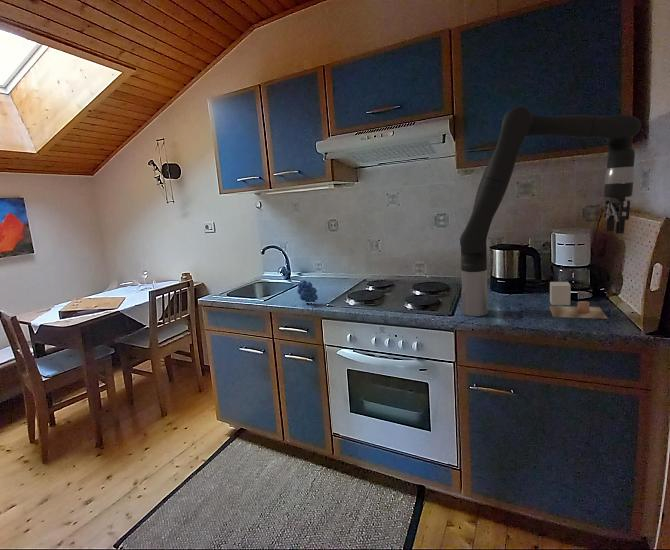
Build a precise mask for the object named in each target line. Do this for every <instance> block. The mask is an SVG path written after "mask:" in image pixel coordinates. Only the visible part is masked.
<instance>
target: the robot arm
mask: <svg viewBox="0 0 670 550" xmlns="http://www.w3.org/2000/svg"><path fill="white" fill-rule="evenodd" d="M641 129H642V122H641V120H640V119H639V118H638V117H636V116H634V115H630V114H629V115H628V114H627V115H626V114H619V115H617V114H616V115H605V116H604V115H602V116H601V115H591V114H590V115H589V114H568V115H567V114H566V115H538V114H532V112H531V110H530V109H529V108H528V107H525V106H522V105H521V106H516V107H513V108H511V109H510V110H508V111H507V112H506V113H505V114H504V117H503V118H502V121H501V129H500V133H499V137H498V140H497V143H496V146H495V149H494V151H493V153H492V155H491V157H490V159H489V161H488V163H487V165H486V167H485V168H484V172H483V174H482V177H481V179H480V182H479V185H478V187H477V191H476V194H475V199H474V204H473V208H472V212H471V215H470V218H469V220H468V222H467V224H466V227H465V228H464V230H463V231H462V233H461V235H460V238H459V244H460V252H461V253H460V257H461V258H460V270H461V271H460V272H461V273H460V274H461V275H460V276H461V293H460V296H461V314H462V315H463V316H469V317H483V316H486V315H488V314H489V311H488V310H489V307H488V300H489V299H488V297H489V296H488V256H487V241H488V235H489V231H490V228H491V225H492V221H493V218H494V216H495V215H496V212H497V211H498V209H499V207H500V205H501V203H502V201H503V198H504V196H505V194H506V192H507V189H508V186H509V184H510V181H511V177H512V176H513V171H514V168H515V165H516V160H517V157H518V153H519V151H520V148H521V146H522V145H523V142H524V140H525V138H526V137H531V136H548V137H549V136H550V137H551V136H552V137H561V138H562V137H563V138H571V139H573V138H574V139H587V140H589V139H590V140H592V139H594V140H595V139H598V138H602V139H603V138H605V139H606V147H607V153H608V155H607V164H606V172H605V177H604V186H603V187H604V188H603V189H604V191H603V198H607V199H608V198H609V200H607V199H606V200H605V201H604V202H605V205H604V213H603V218H604V219H605V220H606V224H605V231H606V232H615V234H617V235H618V234H619V235H620V234H624V233H625V225H626V222H627V221H628V220H629V219H630V209H631V208H630V207H631V200H626V198H628V197H629V198H630V197H632V196H633V190H634V180H635V179H634V178H635V170H634V168H635V167H634V166H635V158H636V157H635V155H636V152H635V150H634V149H633V147H632V146H633V145H632V144H633V143H632V138H634V137H635V136H636V135H637V134H638V133H640V131H641Z"/></svg>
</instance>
